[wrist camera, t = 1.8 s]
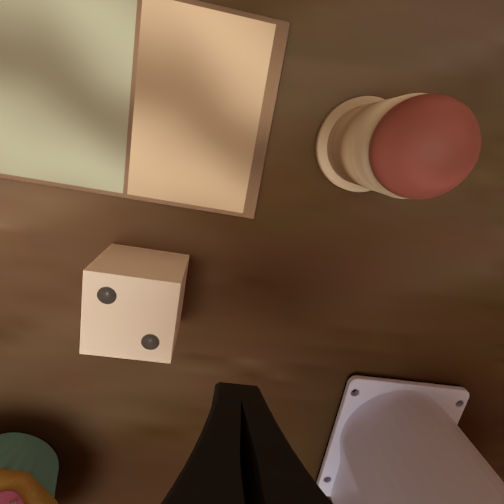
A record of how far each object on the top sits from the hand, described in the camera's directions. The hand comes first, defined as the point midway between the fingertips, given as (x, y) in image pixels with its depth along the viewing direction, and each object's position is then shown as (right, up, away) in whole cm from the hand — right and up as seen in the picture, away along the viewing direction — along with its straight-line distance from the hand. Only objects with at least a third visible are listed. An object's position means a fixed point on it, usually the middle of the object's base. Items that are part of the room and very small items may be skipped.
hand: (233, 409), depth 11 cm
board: (-8, +12, +5) cm, 15 cm away
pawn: (+6, +10, +6) cm, 14 cm away
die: (-5, +3, +8) cm, 10 cm away
